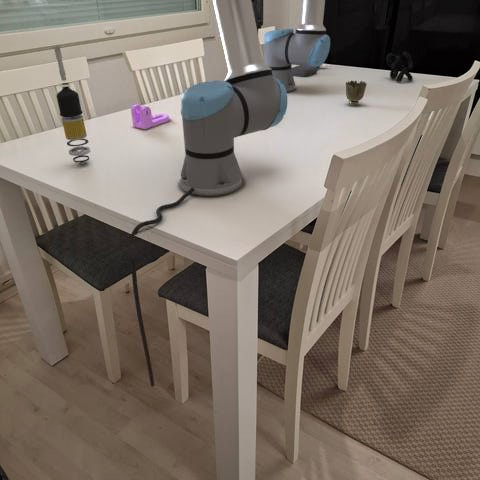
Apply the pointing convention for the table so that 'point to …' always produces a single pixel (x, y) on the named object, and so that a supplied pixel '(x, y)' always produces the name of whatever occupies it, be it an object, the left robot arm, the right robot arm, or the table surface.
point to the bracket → (146, 117)
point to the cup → (355, 91)
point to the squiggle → (399, 66)
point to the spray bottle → (306, 70)
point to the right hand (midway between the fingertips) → (247, 52)
